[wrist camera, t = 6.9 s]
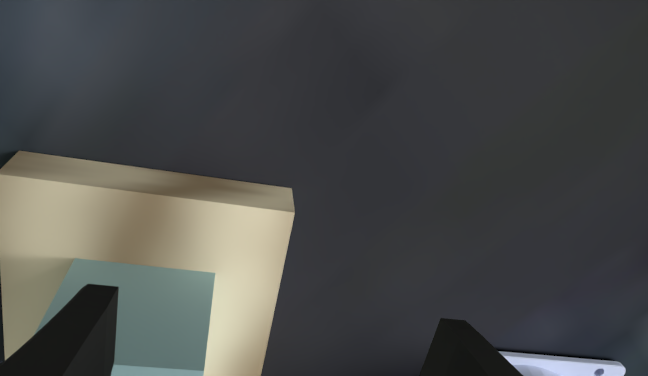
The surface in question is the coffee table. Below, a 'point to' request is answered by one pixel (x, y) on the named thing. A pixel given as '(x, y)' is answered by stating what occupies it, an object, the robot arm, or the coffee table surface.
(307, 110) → the coffee table surface
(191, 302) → the teal cube
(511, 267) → the coffee table surface
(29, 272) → the maple base
